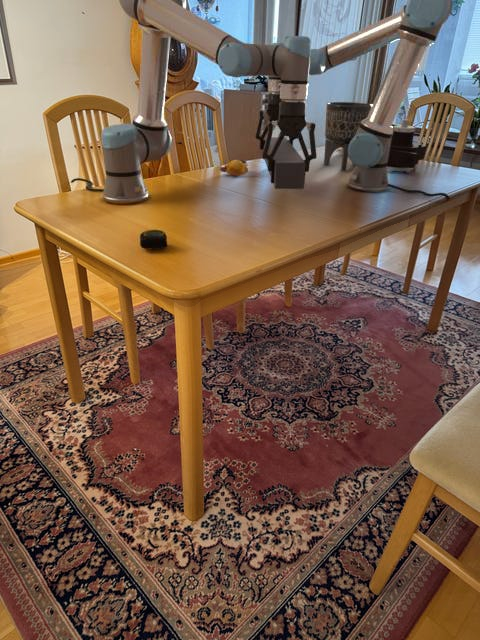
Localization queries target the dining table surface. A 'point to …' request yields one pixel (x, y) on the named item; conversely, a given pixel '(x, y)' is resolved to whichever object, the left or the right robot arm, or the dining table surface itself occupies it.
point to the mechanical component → (404, 149)
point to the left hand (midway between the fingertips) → (287, 182)
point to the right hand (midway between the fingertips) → (275, 158)
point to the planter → (342, 127)
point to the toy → (235, 167)
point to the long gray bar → (287, 166)
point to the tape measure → (153, 239)
